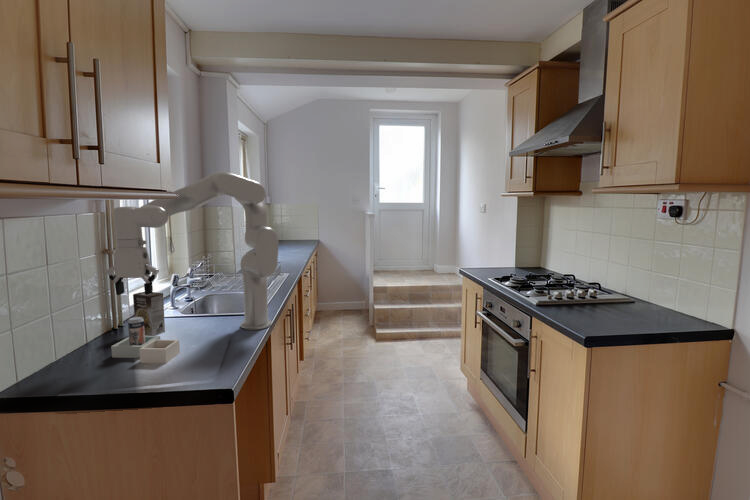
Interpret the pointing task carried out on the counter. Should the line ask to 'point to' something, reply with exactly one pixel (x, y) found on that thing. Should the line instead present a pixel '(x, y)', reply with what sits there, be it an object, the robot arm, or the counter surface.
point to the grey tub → (130, 348)
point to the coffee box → (150, 312)
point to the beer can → (136, 331)
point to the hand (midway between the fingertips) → (134, 293)
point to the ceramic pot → (159, 351)
